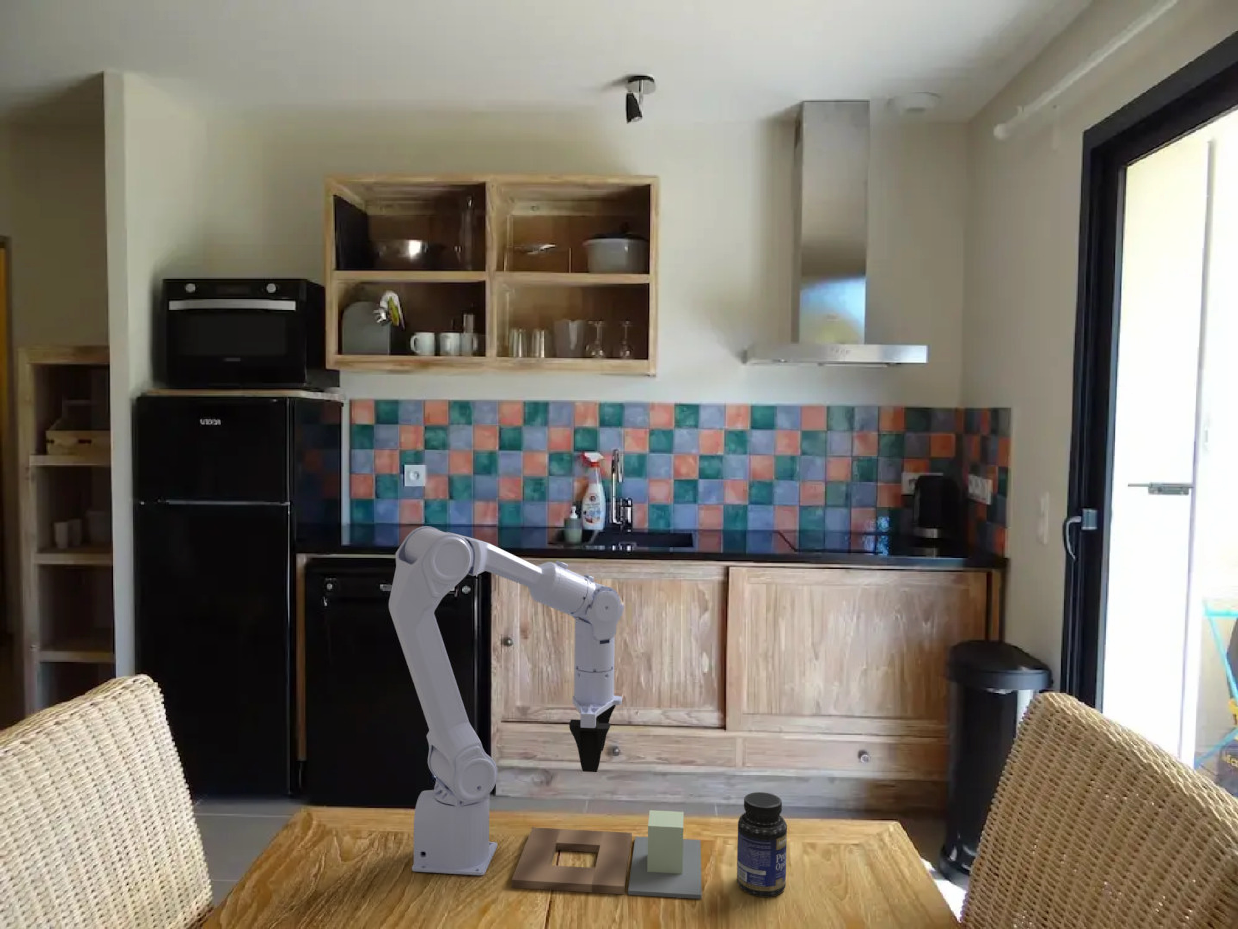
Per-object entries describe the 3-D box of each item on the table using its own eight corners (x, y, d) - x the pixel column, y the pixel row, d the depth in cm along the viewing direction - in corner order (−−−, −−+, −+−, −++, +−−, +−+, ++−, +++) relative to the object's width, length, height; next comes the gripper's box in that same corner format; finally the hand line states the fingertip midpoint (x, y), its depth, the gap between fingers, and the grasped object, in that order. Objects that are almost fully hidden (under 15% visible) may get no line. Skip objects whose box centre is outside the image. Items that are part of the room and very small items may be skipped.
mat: (628, 894, 106) (628, 890, 106) (635, 840, 120) (635, 836, 120) (701, 899, 106) (701, 895, 106) (700, 843, 119) (700, 840, 119)
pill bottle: (785, 901, 105) (787, 813, 105) (734, 895, 106) (736, 807, 106) (785, 876, 111) (787, 791, 111) (738, 870, 113) (739, 787, 112)
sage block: (647, 871, 111) (648, 826, 111) (648, 854, 115) (649, 810, 115) (682, 873, 110) (683, 827, 110) (682, 856, 115) (683, 812, 115)
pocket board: (511, 887, 107) (511, 879, 107) (532, 834, 121) (532, 827, 121) (623, 894, 106) (624, 886, 106) (631, 840, 120) (631, 832, 120)
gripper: (617, 683, 116) (616, 782, 117) (626, 654, 131) (624, 743, 131) (565, 681, 117) (564, 779, 117) (579, 652, 131) (578, 740, 132)
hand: (593, 760), depth 124 cm, fingers open, 7 cm apart
